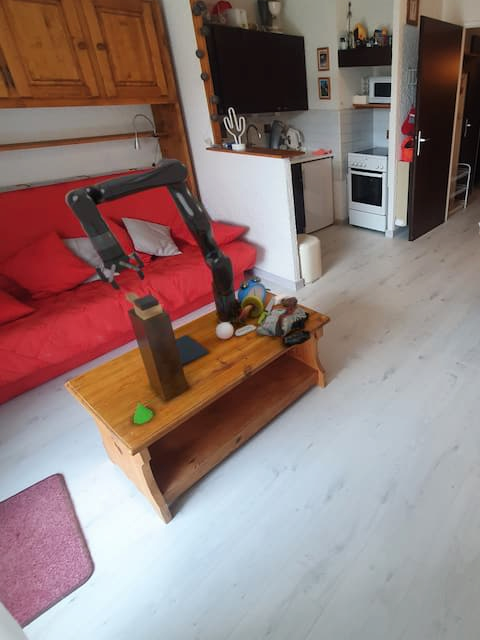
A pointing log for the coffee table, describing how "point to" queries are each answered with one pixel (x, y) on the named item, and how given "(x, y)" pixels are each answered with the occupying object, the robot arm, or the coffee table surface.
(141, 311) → the brush
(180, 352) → the mat
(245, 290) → the alarm clock
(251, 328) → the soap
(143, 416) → the gemstone
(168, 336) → the tall dark wooden block
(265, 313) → the kitchen knife
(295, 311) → the athletic shoe
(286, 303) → the stone
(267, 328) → the stone
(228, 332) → the white egg
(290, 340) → the toy car
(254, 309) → the mushroom
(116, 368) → the coffee table surface
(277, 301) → the toy vehicle
